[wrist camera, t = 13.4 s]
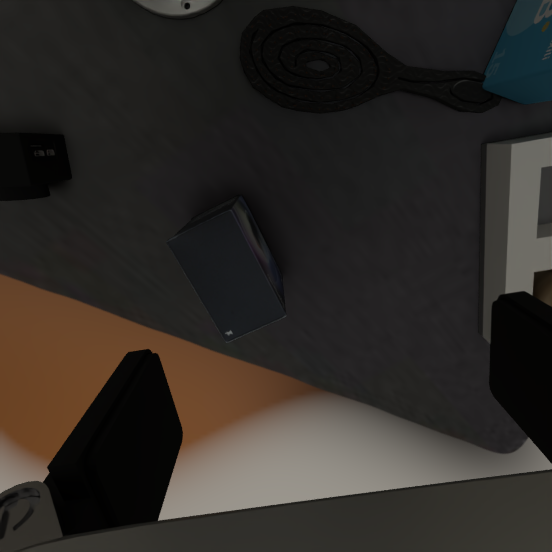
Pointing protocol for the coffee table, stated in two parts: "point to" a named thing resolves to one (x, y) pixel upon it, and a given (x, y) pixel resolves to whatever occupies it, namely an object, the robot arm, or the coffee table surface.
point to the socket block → (513, 218)
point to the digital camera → (31, 164)
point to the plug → (543, 286)
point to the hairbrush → (342, 66)
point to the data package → (523, 55)
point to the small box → (231, 268)
